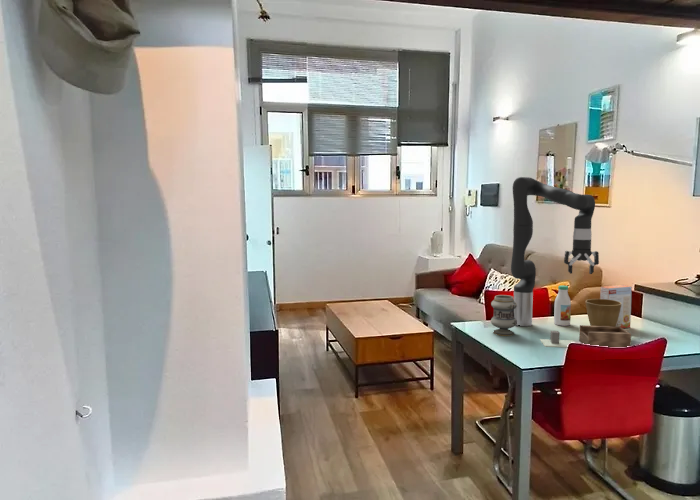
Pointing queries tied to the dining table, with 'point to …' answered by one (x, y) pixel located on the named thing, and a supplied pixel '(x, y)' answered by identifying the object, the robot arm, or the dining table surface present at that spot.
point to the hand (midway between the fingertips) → (580, 273)
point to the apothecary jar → (504, 314)
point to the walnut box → (604, 336)
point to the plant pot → (603, 312)
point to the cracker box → (621, 295)
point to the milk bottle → (562, 307)
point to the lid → (555, 341)
